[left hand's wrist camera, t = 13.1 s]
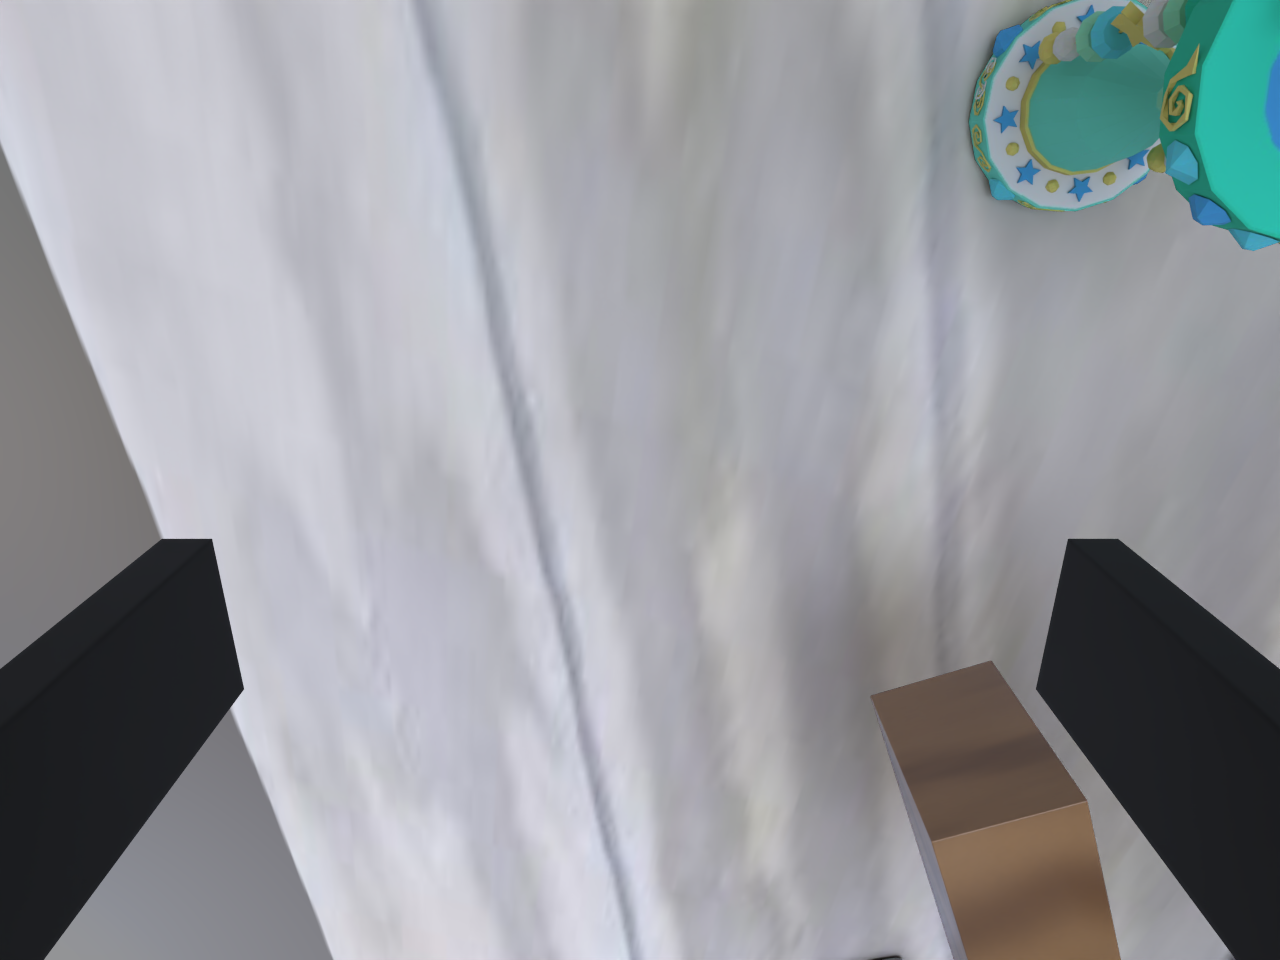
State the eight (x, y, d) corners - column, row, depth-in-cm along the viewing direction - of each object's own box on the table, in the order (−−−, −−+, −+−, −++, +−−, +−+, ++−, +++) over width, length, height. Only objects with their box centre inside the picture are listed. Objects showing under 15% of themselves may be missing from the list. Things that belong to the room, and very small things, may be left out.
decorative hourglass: (1217, 87, 42) (2338, -43, 14) (1056, 260, 45) (1718, 429, 18) (1074, -65, 40) (2090, -577, 12) (914, 129, 43) (1422, 84, 15)
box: (869, 695, 40) (930, 841, 32) (991, 659, 39) (1087, 800, 31) (972, 1018, 49) (1042, 1202, 40) (1073, 994, 48) (1167, 1176, 39)
